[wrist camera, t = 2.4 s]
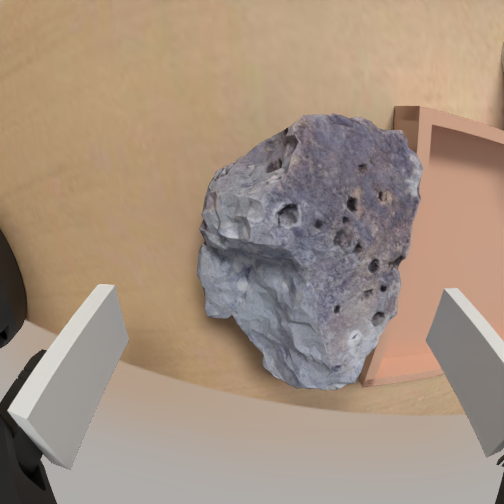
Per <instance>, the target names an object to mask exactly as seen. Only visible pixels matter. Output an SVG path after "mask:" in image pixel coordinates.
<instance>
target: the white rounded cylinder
mask: <svg viewBox="0 0 504 504" xmlns="http://www.w3.org/2000/svg"><path fill="white" fill-rule="evenodd" d="M501 60H502V68H503V74H504V43H503V46H502V53H501Z"/></svg>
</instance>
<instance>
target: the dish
mask: <svg viewBox="0 0 504 504" xmlns="http://www.w3.org/2000/svg"><path fill="white" fill-rule="evenodd" d="M394 130H402V131H403V133H404V134H405V136H406V138H407V140H408V148H410V149H411V150H412V151H414V152H415V153H416V154H417V156H418V157H419V159H420V162H421V164H422V166H423V171H422V176H421V181H420V186H419V194H420V197H421V201H420V203H419V205H418V210H417V214H416V216H415V219H414V221H413V224H412V233H411V243H410V250H409V253H408V255H407V258H406V259H404V260H402V261H401V263H400V265H399V267H398V270H399V273H400V279H401V289H400V292H399V296H398V303H397V306H398V309H397V315H396V316H395V317H394V318H392V319H391V320H390V321H389V322H388V323H387V325H386V328H385V330H384V332H383V333H382V334H381V335H380V336H379V342H378V343H377V345H376V347H375V348H374V349H373V350H372V351H371V352H370V353H369V354H368V355H367V356H366V358H365V361H364V365H363V368H362V371H361V373H360V374H359V379H360V382H361V386H362V387H368V386H376V385H384V384H391V383H398V382H404V381H410V380H416V379H422V378H427V377H432V376H437V375H442V374H445V373H444V372H443V370H442V368H441V366H440V365H439V363H438V361H437V359H436V358H435V356H434V354H433V353H432V351H431V349H430V347H429V346H428V344H427V342H426V341H425V340H426V338H427V335H428V333H429V330H430V328H431V325H432V322H433V319H434V317H435V314H436V311H437V308H438V305H439V302H440V299H441V296H442V293H443V290H444V289H445V288H458V289H459V290H460V291H461V292H462V293H463V295H464V296H465V297H466V298H467V299H468V300H469V301H470V302H471V303H472V305H473V306H474V307H475V308H476V309H477V310H478V311H479V312H480V314H481V315H482V316H483V317H484V318H485V319H486V321H487V322H488V323H489V324H490V325H491V327H492V328H493V329H494V330H495V331H496V333H497V334H498V335H499V336H500V338H501V339H502V340H503V341H504V131H503V130H500V129H497V128H494V127H492V126H489V125H486V124H483V123H480V122H476V121H473V120H470V119H467V118H463V117H460V116H456V115H453V114H449V113H445V112H442V111H438V110H434V109H430V108H425V107H421V106H395V116H394Z"/></svg>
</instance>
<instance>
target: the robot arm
mask: <svg viewBox="0 0 504 504" xmlns="http://www.w3.org/2000/svg"><path fill="white" fill-rule="evenodd" d="M25 315H26V299H25V292H24V287H23V283H22V279H21V276H20V272H19V269H18V267H17V264H16V261H15V259H14V256H13V254H12V252H11V249H10V247H9V245H8V243H7V241H6V239H5V238H4V236H3V234H2V232H1V230H0V348H2V347H3V346H5V345H7V344H8V343H9V342H10V341H11V339H12V338H13V337H14V336H15V334H16V333H17V332H18V331H19V330H20V329H21V327H22V325H23V323H24V320H25ZM128 341H129V338H128V334H127V331H126V327H125V323H124V320H123V316H122V312H121V308H120V304H119V300H118V295H117V291H116V287H115V285H106V284H98V285H97V287H96V288H95V289H94V290H93V292H92V293H91V294H90V295H89V296H88V298H87V299H86V300H85V301H84V303H83V304H82V305H81V306H80V308H79V309H78V310H77V312H76V313H75V314H74V315H73V317H72V318H71V319H70V321H69V322H68V323H67V324H66V326H65V327H64V328H63V330H62V331H61V332H60V334H59V335H58V336H57V338H56V339H55V341H54V342H53V343H52V345H51V346H50V347H49V349H48V350H41V351H39V352H38V353H37V354H35V355H34V356H33V357H32V358H31V359H30V360H29V362H28V363H27V364H26V366H25V367H24V370H22V371H21V373H20V374H19V376H18V379H16V380H15V381H14V383H13V384H12V386H11V387H10V389H9V391H8V392H7V393H6V395H5V396H4V398H3V399H2V401H1V403H0V504H57V502H56V500H55V497H54V494H53V492H52V489H51V486H50V484H49V481H48V478H47V474H46V471H45V468H44V466H43V464H42V462H41V460H40V459H41V457H42V455H43V454H44V455H45V457H46V458H47V459H48V460H49V461H50V462H51V463H53V464H56V465H58V466H61V467H63V468H66V469H69V470H71V467H72V465H73V462H74V460H75V457H76V455H77V452H78V450H79V448H80V445H81V443H82V440H83V438H84V436H85V433H86V431H87V429H88V426H89V424H90V422H91V419H92V417H93V415H94V413H95V410H96V408H97V406H98V404H99V401H100V399H101V397H102V395H103V393H104V391H105V389H106V386H107V384H108V382H109V380H110V378H111V376H112V374H113V372H114V370H115V368H116V365H117V363H118V361H119V359H120V357H121V355H122V353H123V351H124V349H125V347H126V345H127V343H128ZM425 341H426V342H427V344H428V346H429V347H430V349H431V351H432V353H433V354H434V356H435V358H436V359H437V361H438V363H439V365H440V366H441V368H442V370H443V372H444V373H445V375H446V377H447V379H448V381H449V382H450V384H451V386H452V388H453V390H454V392H455V394H456V395H457V397H458V399H459V401H460V403H461V405H462V407H463V409H464V411H465V413H466V415H467V417H468V419H469V421H470V423H471V425H472V427H473V429H474V431H475V433H476V435H477V438H478V440H479V442H480V444H481V446H482V449H483V451H484V453H485V455H486V457H489V456H491V455H493V454H495V453H497V452H499V451H501V450H502V449H503V448H504V341H503V340H502V339H501V338H500V336H499V335H498V334H497V333H496V331H495V330H494V329H493V328H492V327H491V325H490V324H489V323H488V322H487V321H486V319H485V318H484V317H483V316H482V315H481V314H480V312H479V311H478V310H477V309H476V308H475V307H474V306H473V305H472V303H471V302H470V301H469V300H468V299H467V298H466V297H465V296H464V295H463V293H462V292H461V291H460V290H459V289H458V288H445V289H444V290H443V293H442V296H441V299H440V302H439V305H438V308H437V311H436V314H435V317H434V319H433V322H432V325H431V328H430V330H429V333H428V335H427V338H426V340H425ZM503 460H504V455H503V456H502V457H501V458H500V459H499V460H498V462H497V465H499V464H500V463H501V462H502V461H503ZM502 466H503V467H504V463H503V465H502ZM495 504H504V473H503V477H502V481H501V485H500V488H499V492H498V495H497V499H496V502H495Z"/></svg>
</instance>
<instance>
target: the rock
mask: <svg viewBox="0 0 504 504" xmlns="http://www.w3.org/2000/svg"><path fill="white" fill-rule="evenodd" d="M422 171H423V166H422V164H421V162H420V159H419V157H418V156H417V154H416V153H415V152H414V151H412V150H411V149H410V148H408V140H407V138H406V136H405V134H404V133H403V131H402V130H382V129H379V128H377V127H376V126H375V125H374V124H373V123H372V122H371V121H369V120H366V119H364V118H361V117H353V118H350V119H348V118H346V117H344V116H342V115H338V114H331V115H303V116H302V117H301V118H300V119H299V120H297V121H296V122H295V123H294V124H292V125H291V126H290V127H288V128H287V129H285V130H284V131H282V132H280V133H278V134H276V135H274V136H272V137H271V138H269V139H267V140H264V141H263V142H261V143H260V144H258V145H257V146H256V147H255V148H253V149H252V150H251V151H250V152H249V153H248V154H246V155H245V156H242V157H240V158H238V160H237V161H236V162H235V163H231V164H229V165H228V166H225V167H224V168H222V169H220V170H218V171H216V174H215V176H214V178H213V179H212V180H211V182H210V183H209V186H208V190H207V193H206V196H205V201H204V208H203V212H202V217H203V222H202V224H201V226H200V231H201V233H202V235H203V238H204V240H205V242H204V243H202V246H201V249H200V251H199V256H198V268H197V275H198V277H199V279H200V282H201V284H202V285H203V286H202V287H203V289H204V293H205V310H206V314H207V316H208V317H212V318H226V319H227V318H229V317H230V316H231V315H232V316H233V317H234V319H235V321H236V322H237V324H238V325H239V326H240V328H241V329H242V330H243V331H244V333H245V334H246V335H248V337H249V339H250V341H251V342H253V343H254V345H255V346H256V347H257V348H258V349H259V350H260V351H261V353H262V355H263V359H262V363H263V367H264V368H265V369H266V370H268V371H269V372H270V373H271V374H272V375H273V376H274V377H276V378H278V379H281V380H282V381H284V382H286V383H287V384H288V385H290V386H293V387H295V388H302V387H303V388H307V389H321V390H327V389H330V390H336V389H341V388H342V387H344V386H345V385H346V384H350V383H355V382H356V380H357V378H358V376H359V374H360V373H361V371H362V368H363V365H364V361H365V358H366V356H367V355H368V354H369V353H370V352H371V351H372V350H373V349H374V348H375V347H376V345H377V343H378V342H379V336H380V335H381V334H382V333H383V332H384V330H385V328H386V325H387V323H388V322H389V321H390V320H391V319H392V318H394V317H395V316H396V315H397V309H398V306H397V303H398V296H399V292H400V289H401V279H400V273H399V270H398V267H399V265H400V263H401V261H402V260H404V259H406V258H407V255H408V253H409V250H410V243H411V233H412V224H413V221H414V219H415V216H416V214H417V210H418V205H419V203H420V201H421V197H420V194H419V186H420V181H421V176H422Z"/></svg>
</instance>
